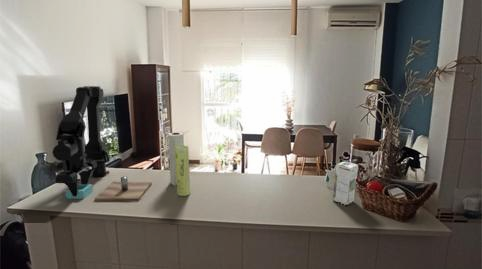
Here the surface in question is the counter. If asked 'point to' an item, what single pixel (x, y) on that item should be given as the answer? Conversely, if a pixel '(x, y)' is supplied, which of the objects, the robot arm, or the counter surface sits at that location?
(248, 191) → the counter surface
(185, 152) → the tube
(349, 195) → the syrup box
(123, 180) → the post
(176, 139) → the paper towel roll
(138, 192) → the base plate
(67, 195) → the ring
